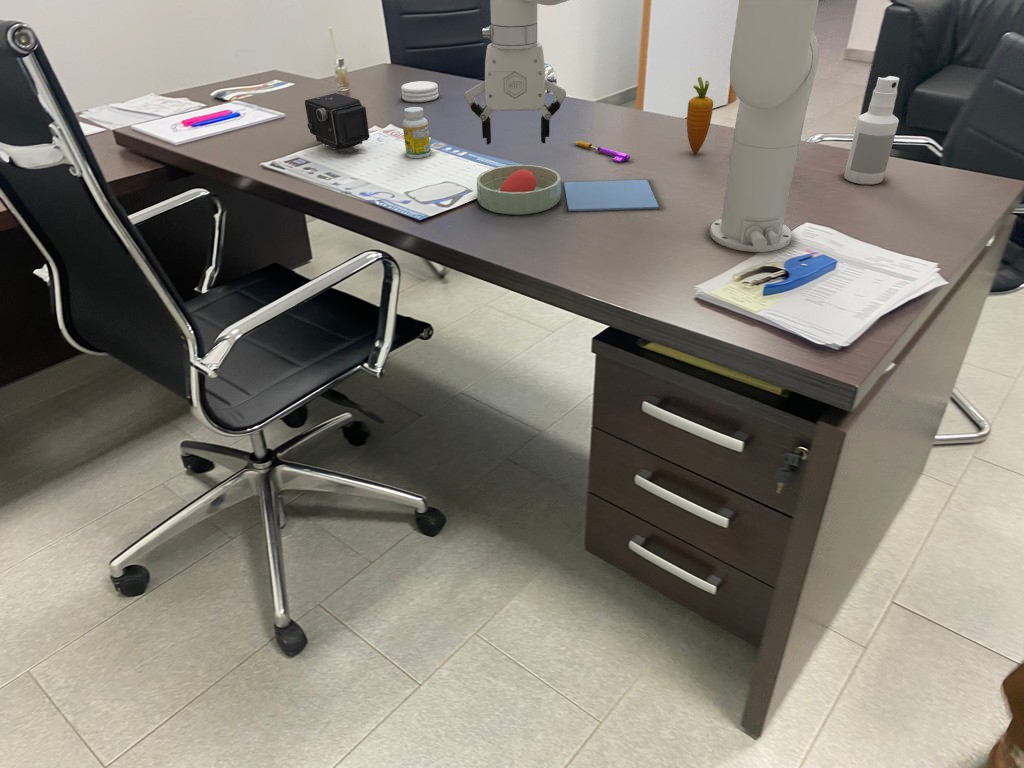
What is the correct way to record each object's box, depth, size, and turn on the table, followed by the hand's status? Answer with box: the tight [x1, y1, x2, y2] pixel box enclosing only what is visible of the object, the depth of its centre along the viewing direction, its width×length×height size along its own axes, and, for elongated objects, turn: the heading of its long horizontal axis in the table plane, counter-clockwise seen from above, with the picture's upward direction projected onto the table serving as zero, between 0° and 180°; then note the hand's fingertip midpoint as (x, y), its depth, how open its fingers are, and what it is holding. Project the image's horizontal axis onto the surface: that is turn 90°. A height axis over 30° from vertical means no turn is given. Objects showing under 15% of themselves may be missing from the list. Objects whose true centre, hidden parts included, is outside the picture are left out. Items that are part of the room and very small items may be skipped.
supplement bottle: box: [402, 106, 432, 159], centre depth 154 cm, size 5×5×10 cm
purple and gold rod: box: [574, 140, 631, 164], centre depth 153 cm, size 3×1×16 cm
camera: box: [304, 92, 370, 154], centre depth 159 cm, size 11×11×15 cm
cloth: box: [563, 179, 660, 212], centre depth 133 cm, size 14×16×1 cm
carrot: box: [686, 76, 714, 155], centre depth 147 cm, size 5×5×15 cm
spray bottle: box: [843, 75, 900, 186], centre depth 131 cm, size 7×7×18 cm
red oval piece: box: [500, 169, 536, 192], centre depth 131 cm, size 5×9×6 cm, turn 140°
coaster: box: [400, 80, 439, 103], centre depth 196 cm, size 10×10×4 cm
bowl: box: [476, 164, 562, 216], centre depth 132 cm, size 15×15×4 cm
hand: (516, 141), depth 127 cm, fingers open, 9 cm apart
